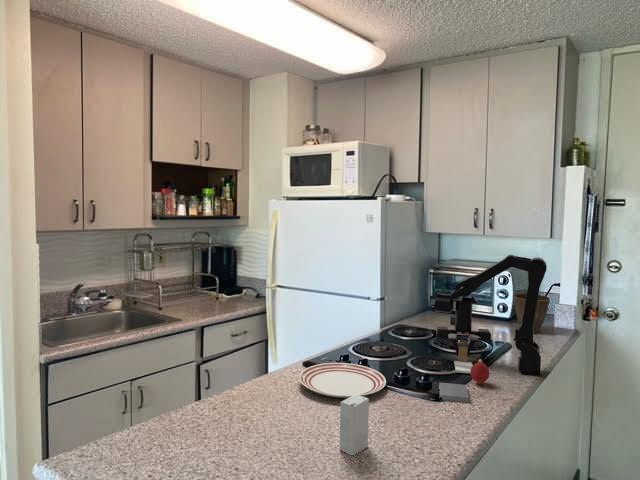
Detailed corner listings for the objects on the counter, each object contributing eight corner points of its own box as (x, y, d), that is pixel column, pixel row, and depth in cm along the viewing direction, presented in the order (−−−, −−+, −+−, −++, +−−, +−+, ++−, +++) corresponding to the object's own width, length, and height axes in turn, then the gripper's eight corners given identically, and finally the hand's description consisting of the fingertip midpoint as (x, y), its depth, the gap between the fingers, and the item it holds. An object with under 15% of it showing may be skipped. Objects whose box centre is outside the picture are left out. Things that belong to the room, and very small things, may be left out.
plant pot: (550, 330, 221) (552, 296, 220) (545, 337, 208) (547, 301, 207) (515, 325, 229) (517, 292, 228) (509, 332, 216) (510, 297, 215)
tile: (439, 382, 151) (440, 394, 141) (465, 384, 150) (468, 397, 140) (439, 388, 151) (440, 401, 142) (465, 391, 150) (468, 404, 140)
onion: (490, 388, 151) (491, 363, 150) (471, 386, 152) (471, 362, 151) (487, 381, 157) (488, 357, 156) (469, 380, 158) (470, 356, 157)
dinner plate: (396, 379, 158) (396, 369, 158) (369, 412, 134) (369, 400, 133) (320, 366, 170) (321, 357, 170) (282, 394, 145) (282, 384, 145)
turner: (453, 358, 178) (453, 342, 177) (470, 359, 177) (470, 343, 176) (456, 372, 163) (456, 355, 163) (474, 373, 162) (475, 356, 162)
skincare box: (353, 441, 117) (354, 393, 116) (369, 447, 114) (370, 397, 113) (338, 451, 112) (338, 400, 111) (353, 458, 109) (354, 406, 108)
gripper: (487, 310, 179) (486, 351, 181) (436, 308, 183) (435, 348, 184) (492, 317, 169) (490, 361, 170) (437, 314, 172) (436, 357, 174)
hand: (462, 356), depth 175 cm, fingers closed on turner, 3 cm apart
